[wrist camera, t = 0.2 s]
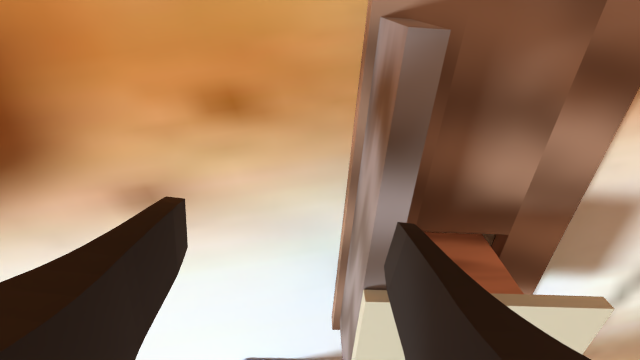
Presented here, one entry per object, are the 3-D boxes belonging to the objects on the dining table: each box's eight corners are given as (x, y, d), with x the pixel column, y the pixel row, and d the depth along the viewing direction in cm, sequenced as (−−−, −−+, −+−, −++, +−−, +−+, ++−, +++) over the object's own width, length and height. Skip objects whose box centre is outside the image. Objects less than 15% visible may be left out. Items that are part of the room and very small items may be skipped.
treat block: (465, 279, 27) (502, 349, 21) (409, 277, 26) (433, 347, 21) (482, 234, 25) (527, 299, 19) (421, 231, 24) (450, 297, 19)
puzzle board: (504, 321, 29) (551, 403, 23) (331, 317, 28) (336, 399, 23) (677, -33, 17) (872, -46, 11) (374, -56, 16) (410, -84, 10)
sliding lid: (551, 374, 22) (575, 411, 20) (349, 370, 21) (353, 408, 19) (602, 296, 18) (637, 332, 16) (363, 289, 18) (369, 326, 16)
